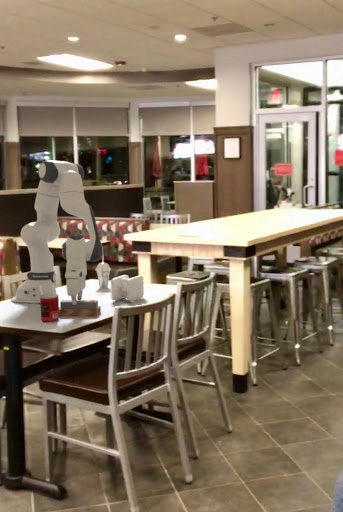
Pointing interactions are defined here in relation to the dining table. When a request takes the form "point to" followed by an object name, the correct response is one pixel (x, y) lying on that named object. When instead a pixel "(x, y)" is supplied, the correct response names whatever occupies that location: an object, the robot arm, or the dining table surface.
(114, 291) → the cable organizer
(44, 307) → the canned food
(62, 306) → the gray bar with feet
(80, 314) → the wooden tray
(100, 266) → the cup with straw
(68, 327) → the dining table surface
